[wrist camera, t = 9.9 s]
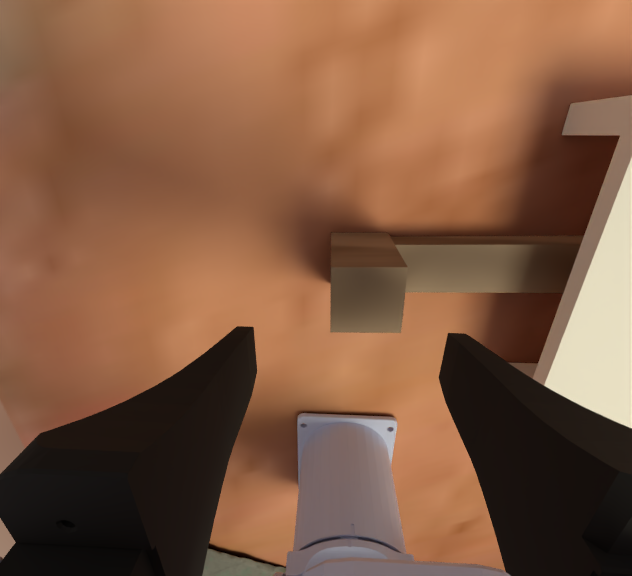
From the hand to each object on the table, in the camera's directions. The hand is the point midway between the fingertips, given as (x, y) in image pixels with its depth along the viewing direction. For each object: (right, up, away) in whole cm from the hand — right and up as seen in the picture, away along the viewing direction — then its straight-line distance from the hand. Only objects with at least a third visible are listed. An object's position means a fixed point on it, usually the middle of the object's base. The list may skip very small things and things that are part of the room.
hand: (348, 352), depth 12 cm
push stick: (+8, +4, +9) cm, 13 cm away
